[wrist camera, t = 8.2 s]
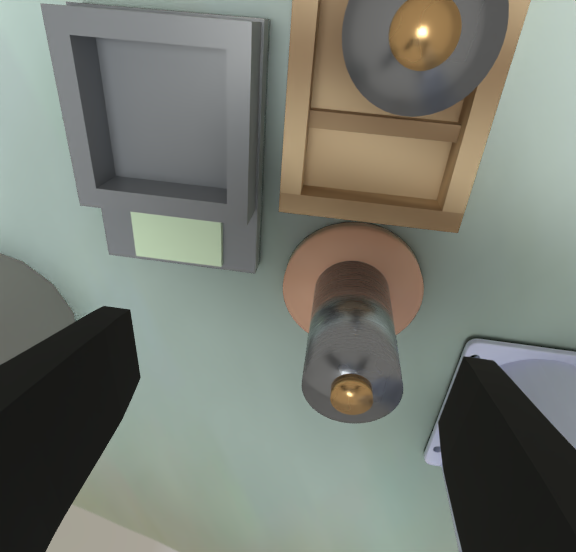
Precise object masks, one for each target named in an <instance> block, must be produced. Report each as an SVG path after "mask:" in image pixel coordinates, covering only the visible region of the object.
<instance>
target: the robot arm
mask: <svg viewBox="0 0 576 552" xmlns="http://www.w3.org/2000/svg"><path fill="white" fill-rule="evenodd" d="M472 355H477V356H476V357H470V356H472ZM139 380H140V371H139V365H138V358H137V352H136V345H135V338H134V332H133V325H132V319H131V312H130V310H129V309H121V308H114V307H107V306H103V307H101V308H99V309H97V310H95V311H93V312H91V313H90V314H88V315H86V316H84V317H83V318H81V319H79V320H77V321H76V322H74V323H72V324H70V325H69V326H67V327H65V328H64V329H62V330H60V331H58V332H57V333H55V334H53V335H52V336H50V337H48V338H47V339H45V340H43V341H41V342H40V343H38V344H36V345H34V346H33V347H31V348H29V349H27V350H26V351H24V352H22V353H20V354H19V355H17V356H15V357H14V358H12V359H10V360H8V361H6V362H5V363H3V364H1V365H0V552H46V550H47V548H48V546H49V544H50V541H51V540H52V538H53V536H54V534H55V532H56V530H57V529H58V527H59V525H60V523H61V521H62V520H63V518H64V516H65V514H66V513H67V511H68V509H69V508H70V506H71V504H72V503H73V501H74V499H75V498H76V496H77V494H78V493H79V491H80V489H81V488H82V486H83V484H84V483H85V481H86V479H87V478H88V476H89V474H90V473H91V471H92V469H93V468H94V466H95V464H96V463H97V461H98V460H99V458H100V456H101V455H102V453H103V451H104V449H105V448H106V446H107V444H108V443H109V441H110V439H111V438H112V436H113V434H114V433H115V431H116V429H117V427H118V426H119V424H120V422H121V420H122V419H123V416H124V414H125V412H126V410H127V408H128V406H129V403H130V401H131V399H132V396H133V394H134V392H135V389H136V387H137V385H138V382H139ZM424 460H425V462H426V463H428V464H430V465H436V466H442V471H443V476H444V481H445V486H446V491H447V496H448V501H449V506H450V511H451V516H452V521H453V525H454V530H455V535H456V540H457V545H458V550H459V552H576V352H574V351H567V350H559V349H552V348H545V347H537V346H530V345H522V344H515V343H508V342H500V341H493V340H486V339H472V340H470V341H468V342H467V343H466V345H465V348H464V350H463V353H462V355H461V358H460V361H459V363H458V366H457V369H456V371H455V374H454V376H453V379H452V382H451V384H450V387H449V389H448V392H447V395H446V397H445V400H444V403H443V405H442V408H441V410H440V413H439V416H438V418H437V421H436V424H435V426H434V429H433V431H432V434H431V437H430V439H429V442H428V444H427V447H426V450H425V452H424Z"/></svg>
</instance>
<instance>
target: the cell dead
mask: <svg viewBox="0 0 576 552" xmlns="http://www.w3.org/2000/svg"><path fill="white" fill-rule="evenodd" d="M302 391H303V394H304V397H305V399H306V400H307V402H308V403H309V404H310V406H311V407H312V408H313V409H315V410H316V411H317V412H318V413H320V414H322V415H323V416H325V417H327V418H330V419H332V420H336V421H339V422H344V423H365V422H371V421H374V420H377V419H380V418H382V417H384V416H386V415H387V414H389V413H390V412H392V411H393V410H394V409H395V408H396V406H397V405H398V404H399V402H400V400H401V398H402V394H403V383H402V376H401V369H400V362H399V355H398V348H397V341H396V334H395V327H394V320H393V313H392V306H391V299H390V292H389V286H388V283H387V280H386V278H385V277H384V275H383V274H382V273H381V272H380V271H379V270H378V269H376V268H375V267H373V266H372V265H370V264H367V263H364V262H360V261H344V262H339V263H336V264H334V265H332V266H330V267H329V268H327V269H326V270H325V271H324V272H323V273H322V274H321V275H320V276H319V278H318V280H317V282H316V285H315V291H314V298H313V306H312V313H311V320H310V327H309V335H308V342H307V349H306V356H305V364H304V371H303V378H302Z"/></svg>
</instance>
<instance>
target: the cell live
mask: <svg viewBox="0 0 576 552" xmlns="http://www.w3.org/2000/svg"><path fill="white" fill-rule="evenodd" d="M508 18H509V1H508V0H349V1H348V4H347V7H346V10H345V15H344V20H343V26H342V50H343V57H344V61H345V64H346V68H347V71H348V73H349V75H350V78H351V80H352V81H353V83H354V85H355V86H356V88H357V89H358V90H359V92H360V93H361V94H362V95H363V96H364V97H365V98H366V99H367V100H368V101H369V102H371V103H372V104H373V105H375V106H376V107H378V108H380V109H382V110H384V111H386V112H389V113H392V114H395V115H400V116H409V117H415V116H425V115H430V114H434V113H437V112H440V111H443V110H445V109H447V108H449V107H451V106H453V105H455V104H456V103H458V102H459V101H461V100H462V99H464V98H465V97H466V96H467V95H469V94H470V93H471V92H472V91H473V90H474V89H475V88H476V87H477V86H478V85H479V84H480V83H481V82H482V80H483V79H484V78H485V77H486V76H487V74H488V73H489V71H490V70H491V68H492V66H493V65H494V63H495V61H496V59H497V57H498V55H499V53H500V50H501V48H502V45H503V43H504V39H505V35H506V31H507V26H508Z"/></svg>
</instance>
